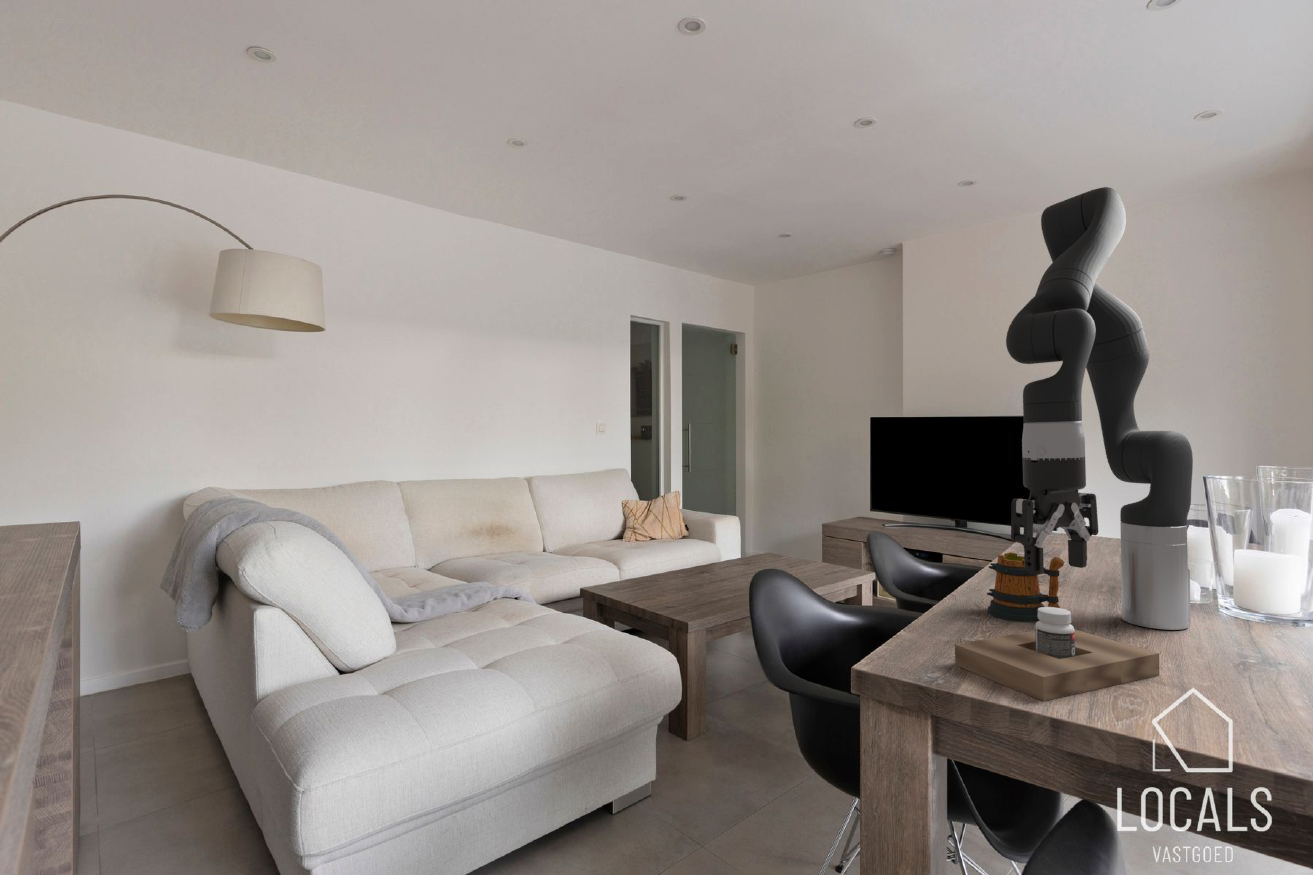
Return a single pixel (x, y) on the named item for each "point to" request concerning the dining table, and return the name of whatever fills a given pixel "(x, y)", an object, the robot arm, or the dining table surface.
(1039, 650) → the pill bottle
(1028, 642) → the board
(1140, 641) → the dining table surface
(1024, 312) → the robot arm
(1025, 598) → the mug
